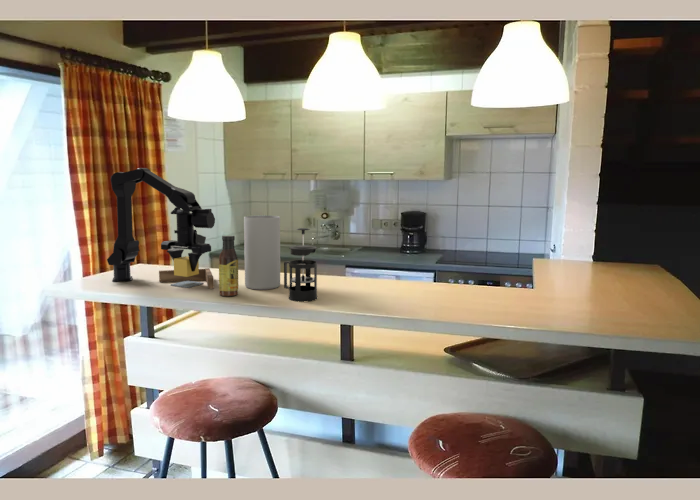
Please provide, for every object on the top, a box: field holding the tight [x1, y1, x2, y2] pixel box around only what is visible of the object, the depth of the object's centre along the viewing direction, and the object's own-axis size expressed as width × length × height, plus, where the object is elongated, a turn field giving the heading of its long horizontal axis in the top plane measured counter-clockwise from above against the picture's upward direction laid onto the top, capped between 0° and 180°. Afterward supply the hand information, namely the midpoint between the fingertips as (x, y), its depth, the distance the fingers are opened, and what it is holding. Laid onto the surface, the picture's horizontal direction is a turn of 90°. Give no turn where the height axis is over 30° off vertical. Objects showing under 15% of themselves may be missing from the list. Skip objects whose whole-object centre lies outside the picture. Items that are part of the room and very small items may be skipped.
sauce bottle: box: [218, 234, 239, 297], centre depth 170 cm, size 7×6×20 cm
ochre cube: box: [173, 255, 200, 277], centre depth 184 cm, size 6×6×6 cm
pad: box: [170, 280, 204, 289], centre depth 185 cm, size 8×8×1 cm
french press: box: [283, 227, 318, 303], centre depth 166 cm, size 12×9×23 cm
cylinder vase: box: [243, 214, 281, 291], centre depth 183 cm, size 12×12×25 cm
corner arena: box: [158, 267, 215, 290], centre depth 185 cm, size 18×18×4 cm
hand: (186, 270), depth 185 cm, fingers closed on ochre cube, 6 cm apart
